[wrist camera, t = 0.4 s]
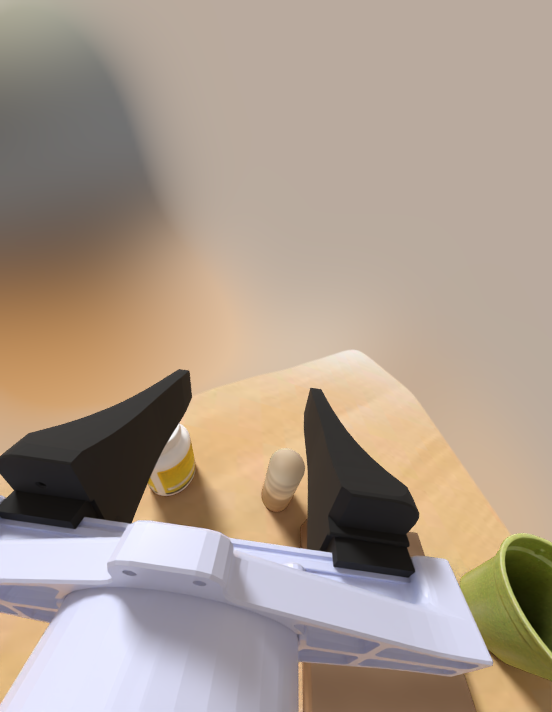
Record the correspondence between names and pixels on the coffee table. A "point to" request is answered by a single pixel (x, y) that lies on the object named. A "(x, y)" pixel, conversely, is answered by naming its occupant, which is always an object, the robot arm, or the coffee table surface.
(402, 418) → the coffee table surface
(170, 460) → the supplement bottle
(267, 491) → the pin
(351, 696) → the socket block
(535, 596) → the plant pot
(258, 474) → the coffee table surface
